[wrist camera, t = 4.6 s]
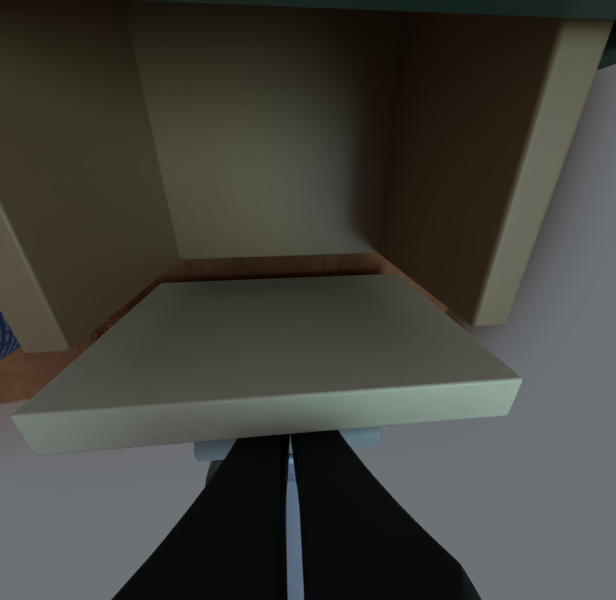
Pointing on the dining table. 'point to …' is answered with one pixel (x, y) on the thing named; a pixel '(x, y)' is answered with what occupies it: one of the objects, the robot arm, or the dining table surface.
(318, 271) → the dining table surface
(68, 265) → the drawer
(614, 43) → the cabinet
